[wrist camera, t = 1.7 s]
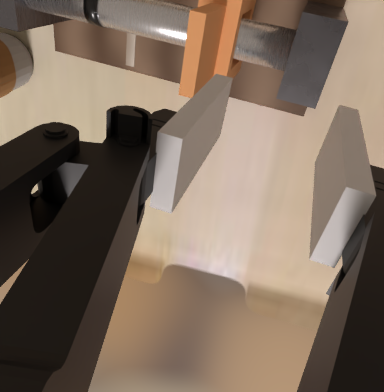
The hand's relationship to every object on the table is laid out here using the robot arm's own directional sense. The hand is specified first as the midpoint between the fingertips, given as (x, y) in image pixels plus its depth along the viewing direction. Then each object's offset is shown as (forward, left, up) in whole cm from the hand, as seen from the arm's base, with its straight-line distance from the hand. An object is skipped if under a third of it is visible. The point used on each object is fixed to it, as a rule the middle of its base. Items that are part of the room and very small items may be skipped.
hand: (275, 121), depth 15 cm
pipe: (+12, 0, -21) cm, 24 cm away
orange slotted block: (+6, 0, -18) cm, 19 cm away
